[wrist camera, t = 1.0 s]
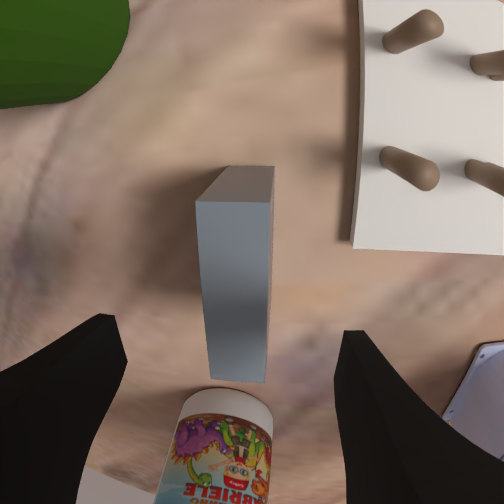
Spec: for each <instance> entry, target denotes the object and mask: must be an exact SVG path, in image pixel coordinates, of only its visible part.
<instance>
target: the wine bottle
mask: <svg viewBox="0 0 504 504" xmlns="http://www.w3.org/2000/svg"><path fill="white" fill-rule="evenodd" d="M129 21H130V9H129V1H128V0H0V109H7V108H14V107H22V106H31V105H41V104H52V103H60V102H66V101H68V100H71V99H73V98H75V97H78V96H80V95H82V94H83V93H85V92H86V91H87V90H89V89H90V88H91V87H93V86H94V85H95V84H97V83H98V82H99V81H100V80H101V79H102V77H103V76H104V75H105V74H106V73H107V72H108V71H109V70H110V69H111V67H112V65H113V64H114V62H115V60H116V59H117V57H118V56H119V54H120V52H121V50H122V47H123V45H124V42H125V39H126V37H127V34H128V28H129Z"/></svg>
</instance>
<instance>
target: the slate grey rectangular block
mask: <svg viewBox="0 0 504 504" xmlns="http://www.w3.org/2000/svg"><path fill="white" fill-rule="evenodd" d="M274 179H275V166H228V167H227V168H226V169H225V170H224V171H223V172H222V173H221V174H220V175H219V176H218V177H217V179H216V180H215V181H214V182H213V183H212V184H211V185H210V186H209V187H208V188H207V189H206V190H205V191H204V192H203V194H202V195H201V196H200V197H199V198H198V199H197V200H196V201H195V207H196V223H197V239H198V253H199V266H200V278H201V290H202V301H203V312H204V322H205V332H206V341H207V350H208V359H209V368H210V376H211V379H216V380H227V381H240V382H255V383H265V375H266V362H267V350H268V337H269V323H270V309H271V292H272V261H273V225H274Z"/></svg>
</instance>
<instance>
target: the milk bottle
mask: <svg viewBox="0 0 504 504" xmlns="http://www.w3.org/2000/svg"><path fill="white" fill-rule="evenodd" d="M272 438H273V418H272V415H271V413H270V411H269V409H268V408H267V406H266V405H265V404H264V403H263V402H261V401H260V400H259V399H257V398H255V397H254V396H252V395H249V394H247V393H244V392H241V391H238V390H232V389H225V388H213V389H206V390H201V391H199V392H197V393H195V394H193V395H192V396H190V397H189V398H188V399H187V400H186V401H185V403H184V405H183V407H182V410H181V413H180V416H179V419H178V422H177V425H176V428H175V432H174V435H173V438H172V441H171V445H170V448H169V451H168V454H167V458H166V461H165V464H164V468H163V471H162V475H161V478H160V481H159V485H158V488H157V492H156V495H155V499H154V503H153V504H268V493H269V482H270V468H271V454H272Z"/></svg>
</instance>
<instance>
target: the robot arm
mask: <svg viewBox="0 0 504 504" xmlns="http://www.w3.org/2000/svg"><path fill="white" fill-rule="evenodd" d="M127 362H128V361H127V358H126V354H125V351H124V348H123V344H122V341H121V338H120V334H119V331H118V327H117V323H116V320H115V316H114V315H107V314H100V313H99V314H97V315H95V316H93V317H92V318H90V319H88V320H87V321H85V322H83V323H82V324H80V325H79V326H77V327H75V328H74V329H72V330H71V331H69V332H68V333H66V334H65V335H63V336H62V337H60V338H59V339H57V340H55V341H54V342H52V343H51V344H49V345H48V346H46V347H44V348H43V349H41V350H39V351H38V352H36V353H34V354H33V355H31V356H29V357H28V358H26V359H24V360H23V361H21V362H19V363H17V364H15V365H13V366H11V367H9V368H7V369H5V370H3V371H1V372H0V504H76V499H77V493H78V488H79V484H80V480H81V476H82V472H83V469H84V465H85V462H86V459H87V456H88V453H89V450H90V447H91V444H92V442H93V439H94V437H95V435H96V433H97V431H98V429H99V427H100V425H101V422H102V420H103V418H104V416H105V414H106V412H107V410H108V408H109V406H110V404H111V402H112V400H113V398H114V396H115V394H116V392H117V390H118V388H119V386H120V383H121V380H122V377H123V375H124V371H125V368H126V365H127ZM334 394H335V408H336V414H337V420H338V426H339V432H340V438H341V444H342V450H343V456H344V463H345V471H346V498H347V504H504V342H498V343H490V344H484V345H482V346H481V347H480V348H479V349H478V352H477V354H476V356H475V358H474V360H473V362H472V364H471V366H470V368H469V370H468V372H467V374H466V376H465V378H464V379H463V381H462V383H461V385H460V387H459V389H458V390H457V392H456V394H455V396H454V397H453V399H452V401H451V403H450V404H449V406H448V408H447V409H446V411H445V413H444V414H443V416H442V418H441V417H440V416H438V415H437V414H436V413H435V412H434V411H433V410H432V409H431V408H430V407H429V406H427V405H426V404H425V403H424V402H423V401H422V400H421V399H420V397H419V396H418V395H417V394H416V393H415V392H414V391H413V390H412V389H411V388H410V387H409V386H408V385H407V383H406V382H405V381H404V380H403V379H402V378H401V376H400V375H399V374H398V373H397V372H396V370H395V369H394V368H393V367H392V366H391V364H390V363H389V362H388V361H387V359H386V358H385V357H384V356H383V354H382V353H381V352H380V351H379V349H378V348H377V347H376V345H375V344H374V343H373V341H372V340H371V339H370V338H369V336H368V335H367V334H366V333H365V331H364V330H355V331H348V330H344V334H343V338H342V343H341V348H340V353H339V357H338V362H337V366H336V370H335V375H334ZM448 420H451V423H452V426H453V428H452V427H451V426H450V425H449V424H447V423H446V422H445V421H448Z"/></svg>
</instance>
